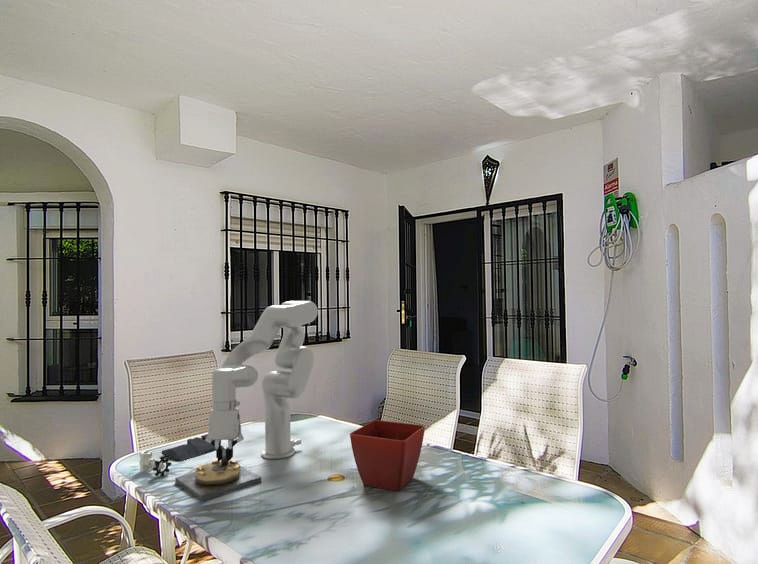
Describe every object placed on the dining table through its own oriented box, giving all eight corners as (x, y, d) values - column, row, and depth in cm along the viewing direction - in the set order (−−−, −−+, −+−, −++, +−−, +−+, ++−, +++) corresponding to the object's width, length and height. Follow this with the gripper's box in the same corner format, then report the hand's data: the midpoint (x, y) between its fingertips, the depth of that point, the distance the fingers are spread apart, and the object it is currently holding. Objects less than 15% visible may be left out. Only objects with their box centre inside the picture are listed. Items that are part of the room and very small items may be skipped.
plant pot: (426, 475, 161) (425, 424, 161) (405, 498, 144) (404, 441, 144) (375, 467, 169) (374, 419, 169) (349, 488, 152) (348, 434, 152)
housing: (232, 467, 172) (232, 459, 172) (261, 482, 158) (261, 473, 158) (175, 483, 158) (175, 474, 158) (201, 501, 144) (201, 492, 144)
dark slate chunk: (155, 457, 186) (155, 444, 186) (204, 442, 204) (204, 430, 204) (179, 464, 177) (179, 451, 177) (228, 447, 195) (228, 436, 196)
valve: (133, 473, 168) (153, 479, 161) (133, 453, 168) (153, 459, 162) (151, 467, 174) (171, 473, 167) (151, 448, 174) (171, 454, 167)
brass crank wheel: (230, 485, 150) (230, 460, 150) (187, 484, 151) (187, 460, 152) (246, 468, 164) (246, 446, 164) (206, 468, 165) (206, 446, 166)
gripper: (250, 402, 167) (251, 455, 167) (204, 403, 167) (205, 456, 167) (244, 407, 160) (245, 463, 160) (196, 408, 160) (196, 464, 160)
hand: (224, 459), depth 163 cm, fingers closed on brass crank wheel, 2 cm apart
